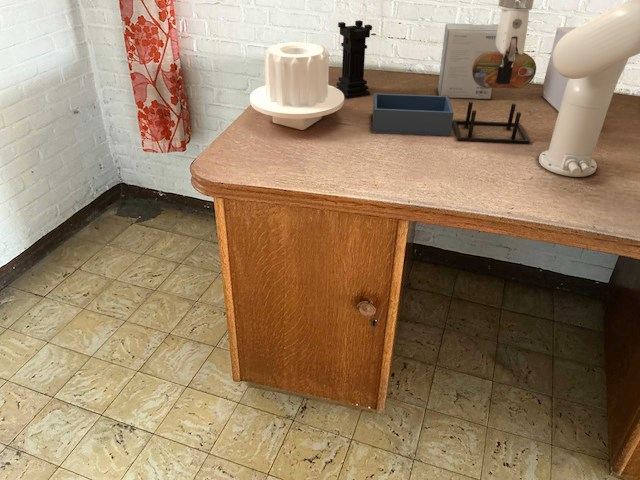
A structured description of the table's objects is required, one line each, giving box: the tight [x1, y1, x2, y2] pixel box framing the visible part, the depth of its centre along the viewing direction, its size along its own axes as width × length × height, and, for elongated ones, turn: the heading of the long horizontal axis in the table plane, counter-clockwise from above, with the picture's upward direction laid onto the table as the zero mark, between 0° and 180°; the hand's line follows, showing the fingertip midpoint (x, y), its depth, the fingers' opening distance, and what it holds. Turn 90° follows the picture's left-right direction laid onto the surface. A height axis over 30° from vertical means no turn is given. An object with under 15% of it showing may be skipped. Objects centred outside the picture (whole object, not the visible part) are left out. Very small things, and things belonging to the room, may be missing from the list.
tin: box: [472, 52, 537, 89], centre depth 132 cm, size 15×3×8 cm, turn 85°
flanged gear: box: [249, 41, 345, 131], centre depth 142 cm, size 25×25×19 cm
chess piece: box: [334, 19, 373, 99], centre depth 161 cm, size 8×8×20 cm
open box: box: [371, 92, 454, 137], centre depth 144 cm, size 12×20×6 cm, turn 85°
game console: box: [542, 26, 578, 112], centre depth 150 cm, size 6×27×20 cm, turn 2°
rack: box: [452, 101, 530, 145], centre depth 140 cm, size 12×18×7 cm, turn 85°
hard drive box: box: [437, 23, 499, 100], centre depth 160 cm, size 16×8×20 cm, turn 84°
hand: (501, 80), depth 134 cm, fingers closed on tin, 2 cm apart
